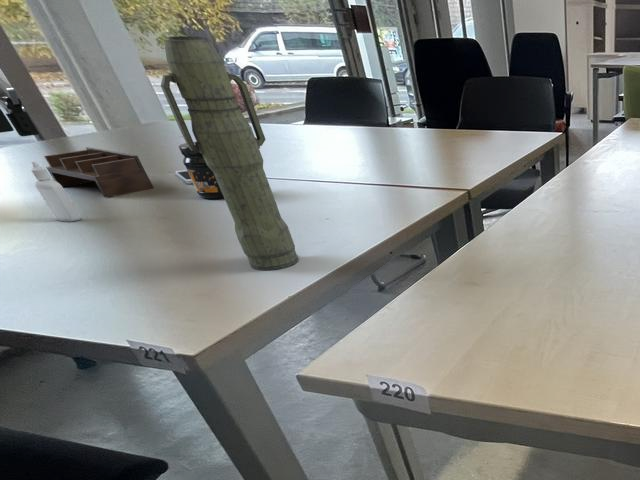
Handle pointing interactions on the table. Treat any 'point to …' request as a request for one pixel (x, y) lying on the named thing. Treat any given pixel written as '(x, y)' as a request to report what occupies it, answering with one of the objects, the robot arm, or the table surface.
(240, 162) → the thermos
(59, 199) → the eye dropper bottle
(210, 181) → the supplement container
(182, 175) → the smartphone
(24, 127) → the robot arm
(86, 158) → the shelf
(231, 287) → the table surface
